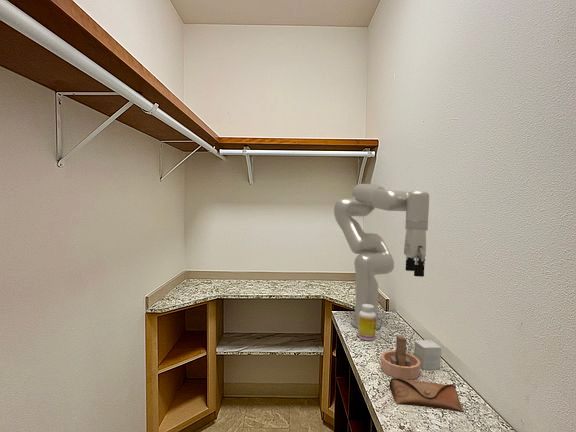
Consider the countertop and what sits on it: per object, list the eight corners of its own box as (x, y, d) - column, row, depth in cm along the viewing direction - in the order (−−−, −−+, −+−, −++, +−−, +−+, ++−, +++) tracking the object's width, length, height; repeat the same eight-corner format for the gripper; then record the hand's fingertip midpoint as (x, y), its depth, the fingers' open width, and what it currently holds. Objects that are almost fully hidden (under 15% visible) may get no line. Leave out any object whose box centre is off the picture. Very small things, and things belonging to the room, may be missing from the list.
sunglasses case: (394, 404, 87) (393, 376, 90) (389, 404, 93) (388, 378, 96) (467, 413, 84) (463, 383, 87) (458, 412, 90) (454, 384, 94)
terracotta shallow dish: (377, 360, 112) (377, 349, 112) (412, 362, 111) (413, 351, 111) (385, 378, 100) (386, 366, 100) (425, 380, 99) (425, 368, 99)
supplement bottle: (375, 342, 127) (377, 308, 127) (358, 340, 128) (359, 307, 128) (374, 335, 133) (376, 303, 133) (358, 333, 135) (359, 302, 134)
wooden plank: (395, 364, 108) (396, 334, 107) (401, 365, 108) (402, 334, 107) (398, 371, 104) (400, 339, 103) (405, 371, 104) (406, 339, 103)
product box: (412, 361, 112) (413, 340, 112) (429, 360, 113) (430, 339, 113) (423, 370, 106) (424, 347, 106) (440, 369, 107) (441, 347, 107)
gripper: (399, 224, 127) (397, 268, 128) (413, 227, 110) (411, 278, 111) (419, 224, 127) (416, 269, 128) (436, 228, 110) (434, 279, 110)
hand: (414, 273), depth 119 cm, fingers open, 9 cm apart
